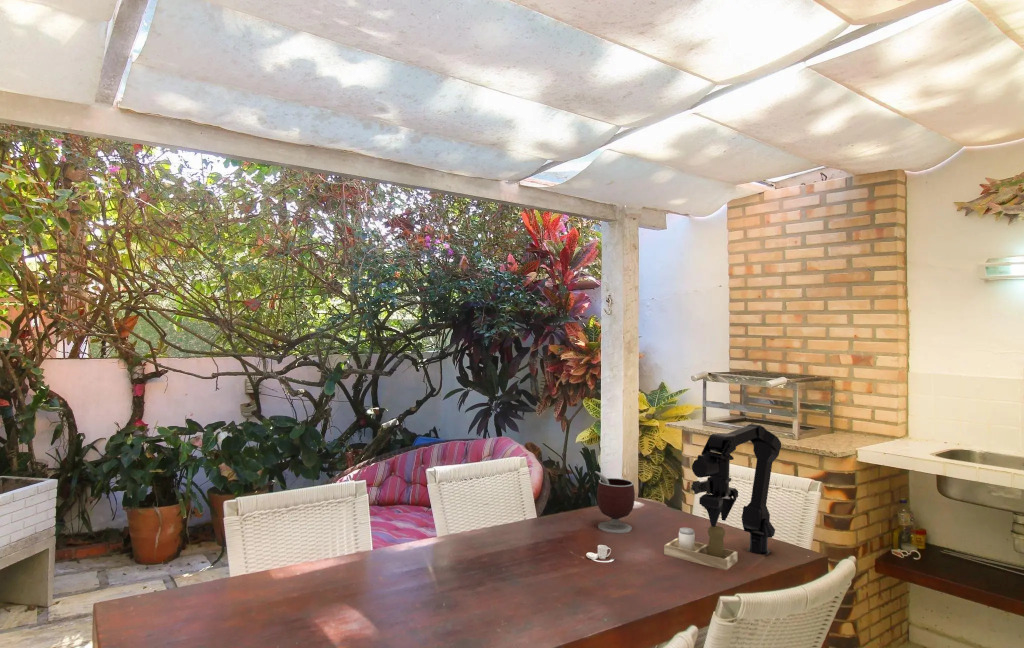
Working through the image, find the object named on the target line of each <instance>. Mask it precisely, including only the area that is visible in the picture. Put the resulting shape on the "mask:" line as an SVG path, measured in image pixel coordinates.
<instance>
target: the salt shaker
mask: <svg viewBox="0 0 1024 648" xmlns="http://www.w3.org/2000/svg"><path fill="white" fill-rule="evenodd" d="M695 535H696V534H695V529H694V528H690V527H679V531H678V538H679V543H678V548H682V549H686V550H690V551H694V542H695Z"/></svg>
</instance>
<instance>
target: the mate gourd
mask: <svg viewBox="0 0 1024 648" xmlns="http://www.w3.org/2000/svg"><path fill="white" fill-rule="evenodd" d="M594 473H595V474H597V475H598V476H599V478H600V479H599V480H598V484H597V489H596V500H597V501H596V502H597V507H598V509H599V511H600V512H601V513H602V514H603V515H604V516H606V517H608V518H610V521H603V522H600V523H598V525H597V527H598V529H599V530H601V531H603V532H606V533H613V534H626V533H629V532H631V531H632V526H631V525H630V524H627V523H625V522H621V521H620V520H619V519H622V518H625V517H628V516H629V515H630V514H631V512H633V510H634V506H635V501H636V499H635V497H636V493H635V492H636V491H635V486H634V484H635V483H634V482H633V481H632V480H629V479H625V478H617V477H616V478H614V477H612V478H611V477H606V476H605V475H604V474H602V473H601V472H599V471H594Z"/></svg>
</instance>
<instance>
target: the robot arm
mask: <svg viewBox="0 0 1024 648" xmlns="http://www.w3.org/2000/svg"><path fill="white" fill-rule="evenodd" d="M747 442H750V443H751V444H752V446H753V454H754V455H755V458H756V464H755V470H754V477H753V483H752V491H751V497H750V502H749V503H748V504H747V505H743V507H742V514H741V523H742V527H743V532H746V533H749V547H748V548H747V549H746V550H745V551H746V552H750V553H754V554H758V555H759V554H760V555H763V556H764V557H766V556H768V555H769V554H770V553H771V551H772V550H771V549H769V548H768V545H769V541H768V540H769V538H773V537H774V536H775V535H776V534H775V532H776V528H774V525H772V524H773V523H772V522H771V521H770V519H771V515H770V512H769V508H768V507H767V502H768V494H769V489H770V488H769V487H770V483H771V482H770V481H771V480H770V479H771V475H772V468H773V463H774V462H775V460H777V458H778V457H779V456H780V455H779V454H780V452H781V448H782V442H781V440H780V439H779V437H778V436H776V435H775V434H774V433H772V432H770V431H769V430H767V429H766V428H765V427H764V426H763V425H761V424H754V423H749V424H747V425H746V426H744V427H740V428H738V429H736V430H734V431H730V432H727V433H725V432H723V433H722V432H721V433H720V432H719V433H711V435H710V436H709V437H708V438H707V441H706V443H705V445H704V447H703V449H702V451H701V454H698V455H697V458H696V459H695V460H693V463H692V464H691V470H692V472H693V474H694V476H696V477H697V478H701V479H702V478H706V477H707V479H706V480H704V481H700V480H696V481H692V484H691V488H690V489H691V491H693V493H694V495H698V494H701V493H705V494H703V495H701V496H700V497H699V500H698V501H699V503H698V504H699V505H701V507H703V508H704V509H705V510H706V512H707V516H708V519H709V521H710V526H712V527H715V526H717V523H718V521H719V518H721V520H722V521H724V522H725V521H727V518H728V516H729V515H730V512H731V511H732V508H733V506H734V504H735V502H736V501H737V498H739V490H738V489H736V488H735V487H731V486H730V482H732V477H730V464H731V463H730V461H733V460H734V459H735V458H734V456H733V455H732V454H731V453H734V452H735V451H736V449H737V447H738V446H740V445H742V444H745V443H747ZM720 516H721V517H720Z"/></svg>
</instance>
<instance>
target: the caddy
mask: <svg viewBox="0 0 1024 648" xmlns="http://www.w3.org/2000/svg"><path fill="white" fill-rule="evenodd" d="M678 543H679V537H677V538H675V539H672V540H671V541H670V542H667V543H665V544H664V546H663V547H664V548H663V550H664V551H663V552H664V553H663V554H664V556H668V557H672V558H676V559H680V560H684V561H688V562H693V563H695V564H699V565H700V564H701V565H704V566H707V567H712V568H716V569H719V570H724V571H727V570H729V569H730V568H731V567H732V566H734V565H735V564H737V563H738V562H739V561H738V560H739V551H736V550H733V549H727V548H724V553H725V559H723V558H719V557H715V556H711V555H707V550H708V544H706V543H701V542H698V541H694V551H690V550H686V549H682V548H678Z"/></svg>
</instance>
